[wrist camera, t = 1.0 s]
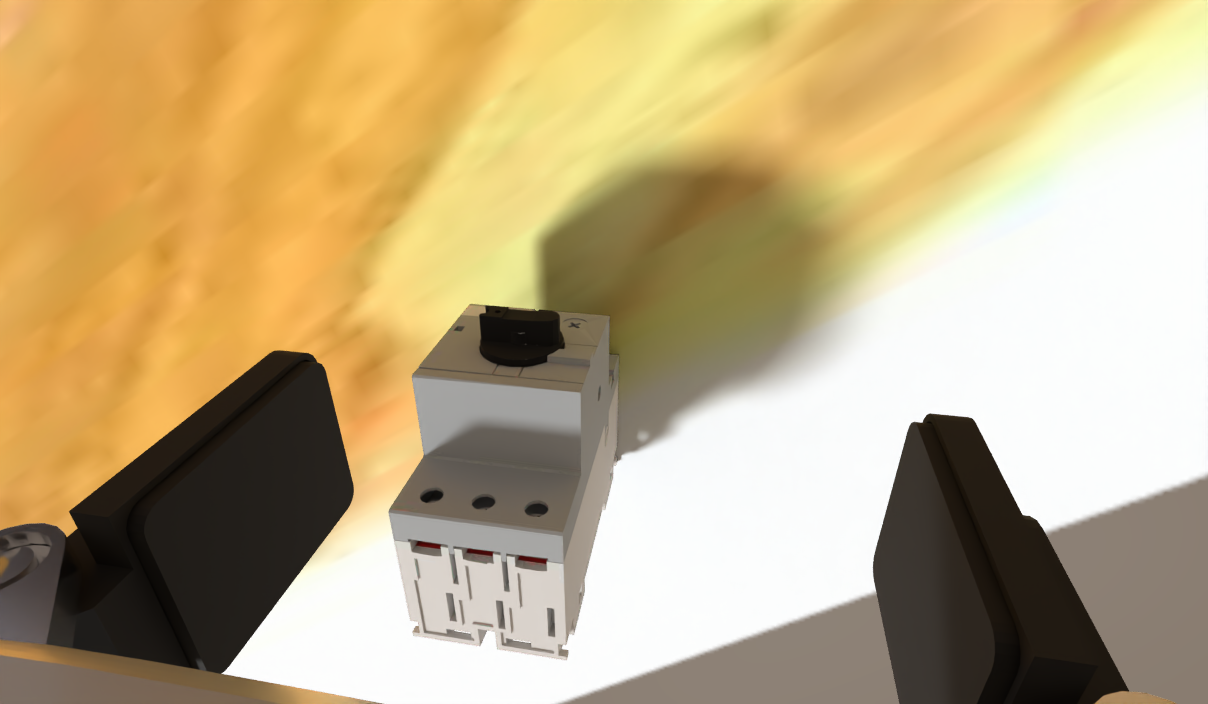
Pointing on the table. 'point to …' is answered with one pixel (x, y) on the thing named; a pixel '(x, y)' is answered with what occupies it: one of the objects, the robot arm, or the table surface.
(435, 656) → the table surface
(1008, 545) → the robot arm
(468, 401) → the circuit breaker
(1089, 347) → the table surface
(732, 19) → the table surface
